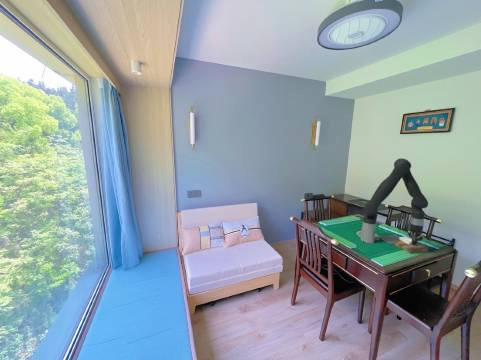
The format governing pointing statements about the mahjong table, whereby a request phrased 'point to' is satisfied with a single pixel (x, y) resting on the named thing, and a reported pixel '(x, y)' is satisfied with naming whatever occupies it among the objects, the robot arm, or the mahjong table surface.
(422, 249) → the deck
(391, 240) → the mat
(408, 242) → the card
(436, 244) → the mahjong table surface
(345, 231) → the mahjong table surface
